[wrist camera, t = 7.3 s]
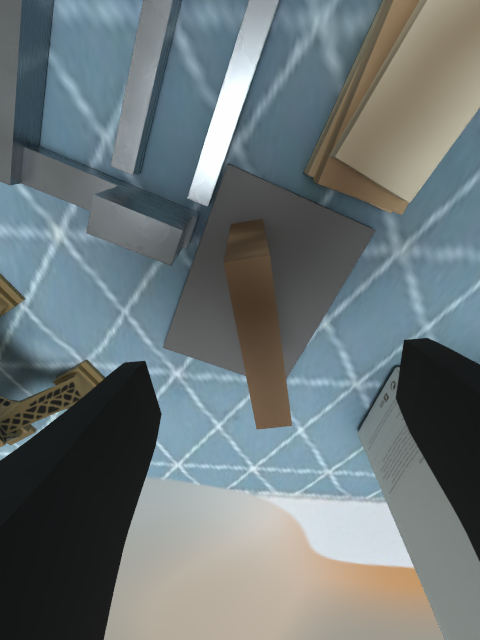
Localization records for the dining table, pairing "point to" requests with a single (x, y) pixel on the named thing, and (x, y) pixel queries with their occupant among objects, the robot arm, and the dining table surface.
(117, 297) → the dining table surface
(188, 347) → the mat
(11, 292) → the eiffel tower
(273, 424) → the walnut sheet
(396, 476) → the skincare box
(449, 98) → the offcut stack
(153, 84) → the rack
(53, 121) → the dining table surface
